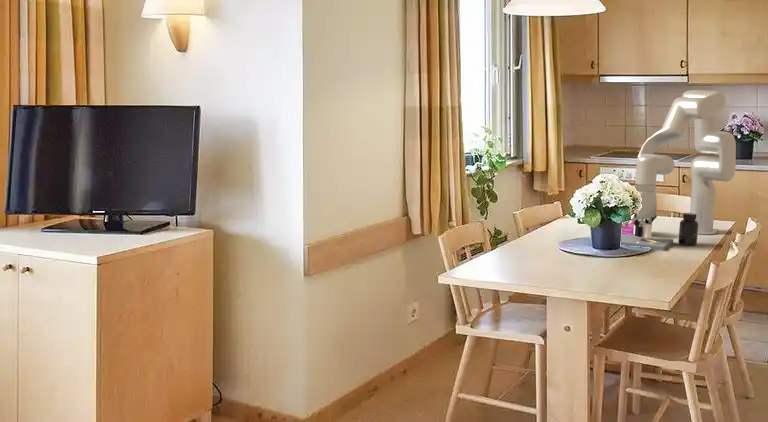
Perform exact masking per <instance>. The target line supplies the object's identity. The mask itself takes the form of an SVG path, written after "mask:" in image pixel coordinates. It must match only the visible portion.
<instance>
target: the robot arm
mask: <svg viewBox="0 0 768 422" xmlns="http://www.w3.org/2000/svg"><path fill="white" fill-rule="evenodd" d="M726 103H727V98H726V95H725V94H724V92H722V91H719V90H705V89H701V90H700V89H690V90H686V91H684V92H683V93H682V95H681V96H680V97H677V98H675V99H674V100H673V102H672V104H671V106H670V108H669V110H668V112H667V115H666V117H665V120H664V121H663V125H662V126H661V128H660V129H659V130H658V131H656V132H655V133H653V134H652V135H651V136H649V138H647V139H646V140H645V141H644V143H643V145H642V146H641V148H640V150H639V152H638V155H637V158H636V163H635V164H636V168H635V171H636V172H635V185H634V186H635V187H634V189H635V188H636V190H637V191H638V192H639V193H640V195H641V198H642V209H641V210H640V211H639V212H638V213H635V214H633V215H632V216H631V217H632V218H631V221H633V223H634V226H635V236H638V237H642V230H643V227H641V226H642V220H643V219H644V223H647V224H651V225H652V226H653V223H654V220H655V219H657V208H658V207H657V204H658V203H657V192H656V189H657V176H658V175H662V176H666V175H669V174H671V173H672V172H673V171H674V169H675V161H674V159H673V158H672V157H671V156H669V155H666V154H665V155H664V154H657V153H655V152H656V151H657V150H658V149H660V148H661V147H663V146H665V145H668V144H670V143H671V144H672V143H674V142H676V141H679V140H681V139H682V138H683V136H684V134H685V132H686V129H687V127H688V124H689V123H690V120H693V123H694V128H693V129H694V137H693V138H694V148H695V150H696V152H698V153H701V154H710V155H717V156H718V157H717V156H708V155H700V156H699V155H698V156H696V157H694V159H692V160H691V163H690V175H691V190H690V191H691V194H690V205H689V206H690V207H689V208H690V209H689V213H694V214H696V221H697V222H698V235H708V236H709V235H716V234H717V231H718V230H716V228H714V221H715V220H714V219H715V206H716V197H717V189H716V186H715V184H714V182H713V181H715V182H723V183H724V182H725V183H727V182H730V181H732V179H733V178H734V177H735V174H736V167H737V166H736V160H737V159H736V157H737V154H736V153H737V149H736V148H737V147H736V144H737V143H736V139H735V136H734V134H732V133H731V132H729V131H727V130H726V131H725V130H719V129H718V128H717V126H718V125H717V116H716V115H717V114H719V113H721V112H722V111H723V110H724V108H725V107H726ZM638 220H639V221H638Z"/></svg>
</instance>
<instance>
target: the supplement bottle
mask: <svg viewBox="0 0 768 422" xmlns="http://www.w3.org/2000/svg"><path fill="white" fill-rule="evenodd" d="M682 215H683V216H682V218H683V219H681V220H680V221H679V229H678V230H679V231H678V244H679V245H682V246H690V247H692V246H697V244H698V235H699V234H698V222H697V221H696V214H694V213H690V212H684V213H683V214H682Z"/></svg>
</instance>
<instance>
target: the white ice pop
mask: <svg viewBox="0 0 768 422" xmlns="http://www.w3.org/2000/svg"><path fill="white" fill-rule="evenodd" d="M641 227H643V230H642V237H639V239H644V240H648V241H651V242H655V243H657V242H656V241H653V240H649V239H646V238H651V237H652V231H653V224H652V225H651V224H647V223H643V222H642V226H641ZM633 234H635V226H634V233H633Z"/></svg>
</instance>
